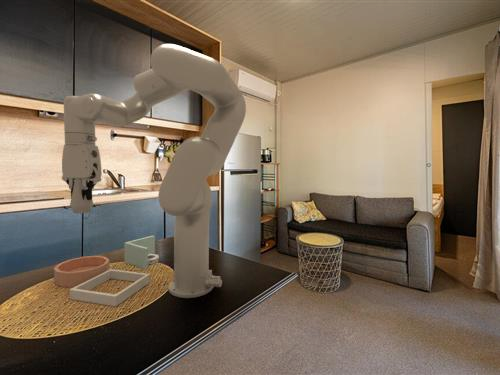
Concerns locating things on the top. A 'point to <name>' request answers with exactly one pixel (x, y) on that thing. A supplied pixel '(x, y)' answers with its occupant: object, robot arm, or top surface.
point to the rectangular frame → (85, 295)
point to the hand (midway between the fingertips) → (81, 201)
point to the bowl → (79, 270)
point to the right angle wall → (141, 252)
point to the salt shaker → (80, 199)
